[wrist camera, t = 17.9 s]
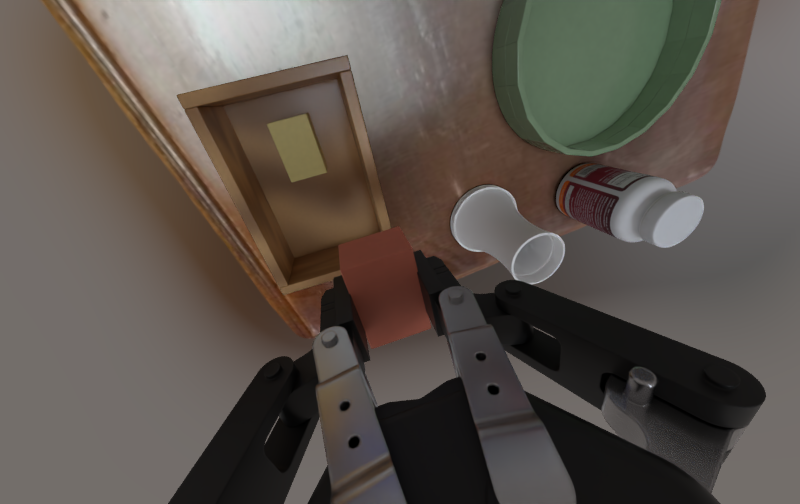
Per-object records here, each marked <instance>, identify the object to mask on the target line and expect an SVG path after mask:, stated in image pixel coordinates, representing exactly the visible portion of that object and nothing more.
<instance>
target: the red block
mask: <svg viewBox="0 0 800 504" xmlns="http://www.w3.org/2000/svg"><path fill="white" fill-rule="evenodd" d="M338 248H339V261H340V272H341V275H342V277H343V280H344V282H345V285H346V287H347V290H348V292H349V294H350V295H351V297H352V300H353V302H354V305H355V307H356V310H357V312H358V315H359V317H360V320H361V322H362V325H363V327H364V330H365V333H366V337H367V340H368V342H369V344H370V347H371V349H373V348H376V347H379V346H382V345H385V344H388V343H390V342H394V341H396V340H399V339H402V338H405V337H408V336H411V335H414V334H417V333H420V332H422V331H425V330H428V329H431V324H430V320H429V316H428V314H427V312H426V309H425V304H424V300H423V296H422V292H421V288H420V283H419V279H418V275H417V272H418V269H417V265H416V261H415V257H414V252H413V248H412V247H411V245H410V244H409V242H408V240H407V239H406V237H405V235H404V234H403V232H402V230H401V229H400V227H399V226H398V227H394V228H391V229H388V230H385V231H382V232H378V233H375V234H372V235H369V236H365V237H362V238H359V239H356V240H353V241H349V242H346V243H343V244H340V245H338Z"/></svg>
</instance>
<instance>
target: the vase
mask: <svg viewBox="0 0 800 504" xmlns="http://www.w3.org/2000/svg"><path fill="white" fill-rule="evenodd" d="M450 225H451V231H452V234H453V236H454V238H455V239H456V240H457V242H458V243H459V244H460V245H461V246H462V247H464V248H465V249H467V250H470V251H475V252H481V251H484V252H486V253H488V254H490V255H492V256H493V257H495V258H496V259H498V260H499V261H500V262H501V263H502V264H503V265H504V266H505V267H506V268H507V269H508V270H509V272H510V273H511V274H512V275H513V277H514V279H515V280H519V281H523V282H526V283H528V284H531V285H532V284H536V283H539V282H542V281H544V280H545V279H547V278H548V277H550V276H551V275H552V274H553V273H554V272H555V271H556V270H557V269H558V267H559V266H560V264H561V263H562V260H563V258H564V253H565V245H564V242H563V240H562V239H561V237H559V236H558V235H556V234H554V233H551V232H548V231H545V230H543V229H541V228H539V227H537V226H535V225H533V224H532V223H530V222H529V221H527V220H526V219H525V218H524V217H523V216H522V215H521V214H520V213H519V212H518V210H517V204H516V201H515V199H514V197H513V196H512V195H511V194H510V193H509V192H508V191H506V190H505V189H503V188H501V187H498V186H495V185H482V186H478V187H476V188H473V189H471V190H470V191H468V192H467V193H466V194H464V195H463V196H462V197H461V198H460V200H459V201H458V202H457V204H456V205H455V207H454V209H453V212H452V215H451V222H450Z"/></svg>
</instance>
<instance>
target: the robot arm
mask: <svg viewBox="0 0 800 504" xmlns="http://www.w3.org/2000/svg"><path fill="white" fill-rule="evenodd" d="M414 257H415V261H416V265H417V269H418V272H417V275H418V279H419V283H420V288H421V292H422V296H423V300H424V304H425V309H426V312H427V314H428V316H429V318H430V320H431V322H432V324H433V326H434V329H435V330H436V332H437V335H438V336H441V335H445V337H446V338H447V342H448V347H449V351H450V355H451V359H452V362H453V366H454V370H455V373H456V378H454V379H451V380H448V381H446V382H445V383H443V384H442V385H440V386H439V387H437V388H436V389H434V390H433V391H431V392H430V393H428V394H427V395H425V396H424V397H422V398H420V399H416V400H406V401H398V402H389V403H386V404H383V405H380V406H378V405H377V402H376V400H375V397H374V395H373V392H372V389H371V387H370V384H369V381H368V379H367V376H366V374H365V366H364V362H367V361H369V360H370V356H369V350H368V345H367V338H366V333H365V330H364V327H363V325H362V322H361V320H360V317H359V315H358V312H357V310H356V307H355V305H354V302H353V300H352V297H351V295H350V294H349V292H348V290H347V287H346V285H345V282H344V280H343V277H342V275H340V276H337V277H334V278H333V280H334V288H333V289H329V290H326V291H325V293H324V295H323V296H322V298H321V324H320V333H319V334H318V335H317V336H316V338H315V339H314V341H313V344H312V348H313V349H312V350H311V351H309V352H308V353H307V354H305V355H304V356H302V357H300V358H299V359H297V360H296V361H294V362H293V361H292V359H291V358H289V357H285V356H282V357H278V358H275V359H273V360H271V361H269V362H268V363H267V364H265V365H264V366H263V367H262V368H261V369H260V371H259V372H258V373H257V375H256V376H255V377H254V379H253V380H252V382H251V384H250V385H249V386H248V388H247V389H246V391H245V392H244V394H243V395H242V397H241V398H240V399H239V401H238V402H237V404H236V405H235V407H234V408H233V410H232V411H231V413H230V414H229V416H228V417H227V419H226V420H225V421H224V423H223V424H222V426H221V427H220V429H219V430H218V432H217V433H216V435H215V436H214V437H213V439H212V440H211V442H210V443H209V445H208V446H207V448H206V449H205V451H204V452H203V453H202V455H201V457H200V458H199V459H198V461H197V462H196V464H195V465H194V467H193V468H192V469H191V471H190V473H189V474H188V475H187V477H186V478H185V480H184V481H183V483H182V484H181V486H180V487H179V488H178V490H177V491H176V493H175V494H174V496H173V497H172V499H171V500H170V502H169V503H168V504H284V502H285V499H286V497H287V494H288V492H289V490H290V487H291V485H292V482H293V480H294V478H295V475H296V473H297V470H298V468H299V465H300V463H301V461H302V458H303V456H304V453H305V451H306V449H307V446H308V444H309V441H310V439H311V437H312V434H313V432H314V429H315V427H316V425H317V422H318V420H319V417H320V422H321V428H322V434H323V439H324V446H325V452H326V458H327V464H328V465H327V467H326V469H325V471H324V473H323V475H322V477H321V479H320V481H319V483H318V485H317V487H316V488H315V490H314V492H313V494H312V496H311V498H310V500H309V502H308V504H720V503H719V502H718V501H717V499H716V498H714V496H713V495H712V494H711V493H712V490H713V487H714V484H715V482H716V479H717V476H718V473H719V470H720V468H721V465H722V464H723V462H724V461H725V459H726V458H727V456H728V455H729V453H730V452H731V450H732V449H733V447H734V445H735V444H736V443H737V441H738V440H739V438H740V437H741V435H742V434H743V432H744V431H745V429H746V428H747V426H748V425H749V423H750V422H751V420H752V419H753V417H754V416H755V414H756V413H757V411H758V410H759V408H760V406H761V405H762V404H763V402H764V400H765V397H766V393H765V390H764V388H763V386H762V385H761V383H760V382H759V381H758V380H757V379H756V378H755V377H754V376H753V375H752V374H750V373H749V372H748V371H746V370H744V369H743V368H741V367H739V366H738V365H736V364H734V363H731V362H729V361H726V360H724V359H721V358H719V357H716V356H713V355H711V354H708V353H706V352H703V351H701V350H698V349H696V348H693V347H690V346H688V345H685V344H683V343H680V342H678V341H675V340H672V339H670V338H667V337H665V336H662V335H659V334H657V333H654V332H652V331H649V330H647V329H644V328H641V327H639V326H636V325H634V324H631V323H628V322H626V321H623V320H621V319H618V318H615V317H613V316H610V315H608V314H605V313H603V312H600V311H598V310H595V309H593V308H590V307H587V306H585V305H582V304H580V303H577V302H575V301H572V300H569V299H567V298H564V297H561V296H559V295H557V294H554V293H551V292H549V291H546V290H544V289H541V288H539V287H536V286H533V285H531V284H528V283H526V282H523V281H519V280H507V281H504V282H501V283H499V284H498V285H497V286H496V287H495V293H488V294H474V293H473V292H472V291H471V290H470V289H468V288H466V287H464V286H461V285H460V284H459V283H458V281H457V280H456V279H455V277H454V276H453V275H452V273H451V272H450V271H449V269H448V268H447V267H446V266H445V264H444V263H443V261H442V260H441V259H439V258H437V257H435V256H432V257H429V258H426V257H425V256H424V254H423V253H422V251H421V250H419V251H416V252H414ZM533 326H534V327H536V328H538V329H540V330H542V331H544V332H546V333H548V334H550V335H552V336H553V337H555V338H556V339H555V338H552V337H551V336H549V335H547V334H545V333H543V332H541V331H539V330H537V329H535V328H533ZM505 351H507V352H508V353H510V354H512V355H513V356H515V357H516V358H518V359H520V360H521V361H523V362H524V363H526V364H528V365H529V366H531V367H532V368H534V369H536V370H537V371H539V372H540V373H542V374H544V375H545V376H547V377H549V378H550V379H552V380H553V381H555V382H557V383H558V384H560V385H561V386H563V387H565V388H566V389H568V390H569V391H571V392H573V393H574V394H576V395H578V396H579V397H581V398H582V399H584V400H585V401H587V402H589V403H590V404H592V405H593V406H595V407H597V408H598V409H600V410H601V411H602V414H603V416H604V419H605V420H606V422H607V423H608V424H609V425H610V427H611V428H612V429H613V430H615V432H616V434H617V435H618V436H616V435H614V434H612V433H610V432H608V431H606V430H604V429H602V428H600V427H598V426H595V425H594V424H592V423H590V422H587V421H585V420H583V419H581V418H579V417H577V416H575V415H573V414H571V413H569V412H567V411H565V410H563V409H561V408H559V407H557V406H555V405H552V404H551V403H548V402H546V401H544V400H542V399H540V398H538V397H536V396H534V395H532V394H530V393H528V392H526V391H524V390H523V388H522V385H521V383H520V381H519V380H518V377H517V375H516V373H515V371H514V369H513V367H512V365H511V363H510V361H509V359H508V357H507V354H506V352H505ZM278 416H279V419H278V421H277V423H276V425H275V427H274V428H273V431H272V432H271V434H270V436H269V438H268V440H267V442H266V443H265V441H266V439H267V436H268V434H269V433H270V431H271V429H272V427H273V425H274V423H275V421H276V420H277V418H278Z"/></svg>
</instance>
